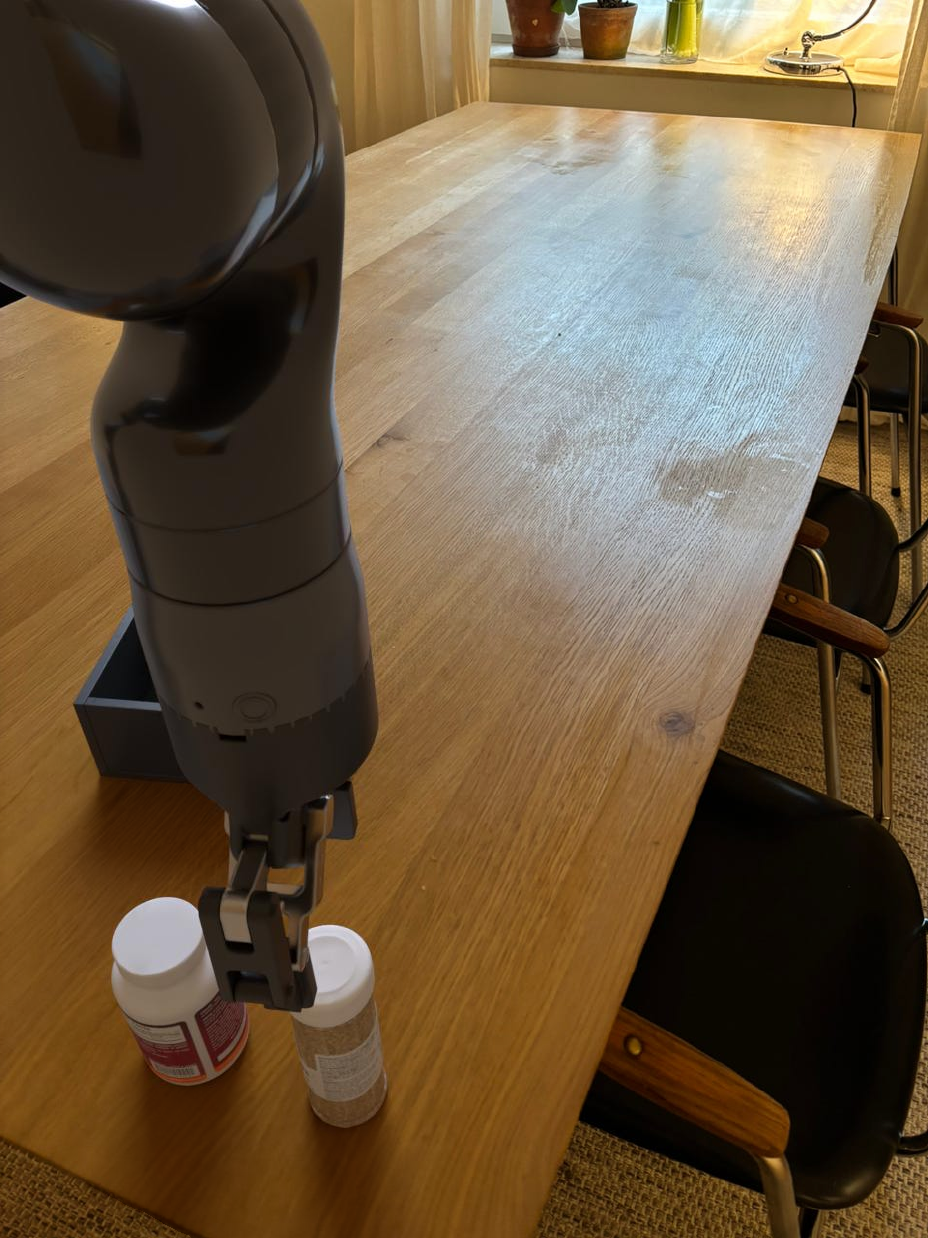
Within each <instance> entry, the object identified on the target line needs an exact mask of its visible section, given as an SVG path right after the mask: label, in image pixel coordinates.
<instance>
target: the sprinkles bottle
mask: <svg viewBox="0 0 928 1238" xmlns="http://www.w3.org/2000/svg"><path fill="white" fill-rule="evenodd" d="M308 947H309V952H310V956H311V961H312V966H313V970H314V975H315V979H316V984H317V993H316V997H315V1001H314V1005H313V1007H311V1008H306V1009H305V1008H302V1010H301V1013H298V1012H289V1014H290V1018H291V1023H292V1028H293V1035H294V1041H295V1045H296V1048H297V1049H296V1050H297V1054H298V1057H299V1062H300V1065H301V1071H302V1074H303V1077H304V1080H305V1082H306V1085H307V1098H308V1102H309V1104H310V1106H311V1108H312V1110H313V1112H314V1114H315V1115H316V1116H317V1117H318V1118H319V1119H320V1120H321V1121H322V1122H324V1123H327V1124H328V1125H330V1126H333V1127H337V1128H343V1129H349V1128H352V1127H356V1126H360V1125H362V1124H364V1123H366V1122H368V1121H369V1120H370V1119H371V1118H373V1117H374V1116H376V1114H377V1113H378V1111H380V1109H381V1106H382V1105H383V1103H384V1101H385V1100H386V1099H385V1098H386V1096H387V1091H388V1079H387V1073H386V1069H385V1067H384V1065H383V1061H384V1060H383V1059H384V1056H383V1046H382V1039H381V1032H380V1031H381V1030H380V1024H379V1017H378V1008H377V1007H378V1006H377V1003H376V1000H375V996H374V988H375V982H376V981H375V980H376V979H375V967H374V961H373V958H372V953H371V950H370V948H369V946H368V945H367V943H366V941H365V940H364V939H363V937H362V936H360V934H358V933H357V932H355V931H354V930H352V929H350V928H347V927H345V926H342V925H338V924H337V925H336V924H323V925H318V926H315V927H312V928H309V931H308Z"/></svg>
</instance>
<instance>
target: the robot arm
mask: <svg viewBox="0 0 928 1238" xmlns="http://www.w3.org/2000/svg"><path fill="white" fill-rule="evenodd" d="M342 120H343V119H342V113H341V107H340V102H339V96H338V92H337V86H336V82H335V77H334V75H333V71H332V67H331V64H330V60H329V57H328V54H327V51H326V49H325V46H324V44H323V41H322V38H321V35H320V34H319V30H318V29H317V27H316V25H315V23H314V20H313V19H312V17H311V15H310V14H309V12H308V10H307V8H306V6H305V5H304V3H302V1H301V0H0V283H2V284H4V285H5V286H7V287H9V288H11V289H13V290H15V291H16V292H19V293H21V294H23V295H25V296H27V297H29V298H31V299H34V300H37V301H40V302H42V303H44V304H47V305H50V306H53V307H55V308H58V309H60V310H64V311H68V312H71V313H75V314H77V315H81V316H85V317H86V316H87V317H90V318H95V319H101V320H106V321H112V322H113V321H114V322H123V324H122V331H121V334H120V338H119V341H118V344H117V346H116V348H115V350H114V353H113V355H112V357H111V359H110V360H109V363H108V365H107V367H106V368H105V370H104V373H103V375H102V377H101V379H100V381H99V383H98V385H97V387H96V390H95V393H94V396H93V399H92V403H91V411H90V419H89V420H90V422H89V426H90V427H89V429H90V439H91V446H92V451H93V455H94V460H95V464H96V468H97V472H98V475H99V479H100V482H101V486H102V489H103V492H104V494H105V495H104V496H105V499H106V502H107V506H108V509H109V512H110V515H111V519H112V522H113V526H114V529H115V532H116V535H117V539H118V542H119V545H120V550H121V553H122V555H123V559H124V562H125V566H126V571H127V576H128V580H129V587H130V596H131V597H130V598H131V604H132V607H133V613H134V619H135V623H136V627H137V631H138V635H139V638H140V641H141V644H142V648H143V651H144V654H145V658H146V661H147V664H148V667H149V671H150V674H151V677H152V681H153V684H154V687H155V690H156V694H157V697H158V700H159V704H160V707H161V709H162V713H163V716H164V719H165V723H166V726H167V729H168V732H169V736H170V739H171V742H172V746H173V749H174V752H175V755H176V759H177V762H178V764H179V766H180V768H181V770H182V772H183V773H184V775H185V776H186V778H187V779H188V780H189V781H190V782H191V783H190V784H192V786H193V787H194V788H196V789H197V790H198V791H199V792H201V793H202V794H203V795H205V796H206V797H207V798H208V799H210V800H211V801H212V802H214V803H215V804H216V805H217V806H218V807H220V809H223V811H224V820H223V821H224V824H223V827H224V831H225V833H226V834H227V836H228V838H229V857H228V877H227V886H217V885H208V884H207V885H205V886H204V888H203V889H202V891H201V894H200V897H199V898H198V902H197V911H198V915H199V920H200V924H201V927H202V931H203V935H204V938H205V942H206V945H207V949H208V953H209V956H210V960H211V964H212V967H213V971H214V974H215V978H216V982H217V985H218V989H219V992H220V996H221V999H222V1001H224V1002H234V1003H236V1002H245V1003H246V1004H256V1005H263V1008H264V1009H266V1010H271V1011H280V1012H288V1013H290V1012H298V1013H301V1010H302V1008H305V1009H306V1008H311V1007H313V1005H314V1001H315V997H316V993H317V984H316V979H315V975H314V970H313V966H312V961H311V956H310V952H309V947H308V931H309V929H310V915H312V914H313V912H314V911H315V910H316V909H317V907H318V905H319V904H320V903H321V901H322V900H323V897H324V886H325V885H324V883H325V881H324V880H325V864H326V863H325V862H326V846H327V845H326V844H327V843H326V842H327V841H326V840H327V839H329V840H341V841H351V840H354V838H355V837H356V833H357V829H358V825H359V822H358V814H357V807H356V799H355V792H354V784H353V781H354V779H355V775H357V772H358V770H359V769H360V768H361V767H362V766H363V764H364V763H365V762H366V760H367V759H368V757H369V755H370V754H371V751H372V750H373V747H374V745H375V743H376V739H377V736H378V731H379V719H380V718H379V708H378V706H379V705H378V699H377V697H378V695H377V689H376V679H375V669H374V658H373V650H372V641H371V640H372V639H371V632H370V624H369V614H368V613H369V611H368V604H367V603H368V602H367V593H366V585H365V584H366V583H365V577H364V573H363V569H362V565H361V562H360V557H359V555H358V551H357V548H356V543H355V540H354V536H353V531H352V524H351V520H350V511H349V500H348V492H347V491H348V490H347V482H346V471H345V465H344V463H345V462H344V453H343V446H342V439H341V433H340V432H341V431H340V426H339V421H338V414H337V410H336V409H337V408H336V401H335V378H336V362H337V352H338V342H339V333H340V323H341V311H342V293H343V291H342V290H343V273H344V254H345V253H344V251H345V233H346V231H345V229H346V202H347V201H346V199H347V197H346V196H347V195H346V194H347V181H346V179H347V177H346V173H347V172H346V153H345V140H344V137H345V136H344V129H343V121H342ZM300 867H303V879H302V881H303V882H302V884H290V883H279V882H270V881H269V882H268V878H269V873H270V869H272V870H282V869H283V870H284V869H288V870H289V869H298V868H300ZM283 915H285V916H286V917H287V918H288V920H289V924H288V925H289V929H288V936H287V932H286V928H285V923H284V918H283Z"/></svg>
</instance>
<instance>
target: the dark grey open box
mask: <svg viewBox="0 0 928 1238" xmlns="http://www.w3.org/2000/svg"><path fill="white" fill-rule="evenodd" d="M72 706H73V708H74V711H75V714H76V716H77V719H78V722H79V724H80V727H81V729H82V732H83V734H84V737H85V740H86V743H87V746H88V748H89V750H90V753H91V755H92V757H93V758H92V759H93V761H94V764H95V766H96V769H97V771H98V774H99V776H105V777H114V778H115V777H116V778H127V779H137V780H147V781H148V780H151V781H162V782H174V783H184V784H192V783H191V782H190V781H189V780H188V779H187V778H186V776H185V775H184V773H183V772H182V770H181V768H180V766H179V764H178V762H177V759H176V755H175V752H174V749H173V746H172V742H171V739H170V736H169V732H168V729H167V726H166V723H165V719H164V716H163V713H162V709H161V707H160V704H159V700H158V697H157V694H156V690H155V687H154V684H153V681H152V677H151V674H150V671H149V667H148V664H147V661H146V658H145V654H144V651H143V648H142V644H141V641H140V638H139V635H138V631H137V627H136V623H135V619H134V613H133V607H132V603H130V605H129V607H128V608H127V610H126V612H125V614H124V615H123V617H122V619H121V620H120V622H119V624H118V626H117V627H116V629H115V632H114V633H113V634H112V636H111V638H110V640H109V641H108V643H107V644H106V647H104V650H103V652H101V654H100V657H99V658H98V660H97V661H96V664H95V665H94V667H93V669H92V670H91V672H90V674H89V675H88V677H87V679H86V680H85V682H84V684H83V685H82V687H81V689H80V691H79V692H78V694H77V696H76V698H75V699H74V701H73V703H72Z"/></svg>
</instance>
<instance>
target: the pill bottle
mask: <svg viewBox="0 0 928 1238" xmlns="http://www.w3.org/2000/svg"><path fill="white" fill-rule="evenodd" d="M111 954H112V958H113V963H112V964H113V965H112V968H111V975H110V977H111V978H110V979H111V980H110V981H111V982H110V983H111V989H112V992H113V996H114V998H115V1000H116V1003H117V1006H118V1007H119V1009H120V1011H121V1012H122V1015H123V1017H124V1019H125V1021H126V1023H127V1024H128V1026H129V1029H130V1031H131V1033H132V1036H133V1038H134V1039H135V1041H136V1043H137V1045H138V1048H139V1049H140V1051H141V1053H142V1055H143V1057H144V1060H145V1062H146V1063H147V1065H148V1066H149V1068H150V1070H152V1072H153V1073H154V1074H155V1075H156V1076H158V1077H159V1078H160V1079H162V1080H163V1081H165V1082H168V1083H170V1084H173V1085H177V1086H197V1085H201V1084H204V1083H207V1082H210V1081H212V1080H214V1079H216V1078H217V1077H219V1076H221V1075H222V1074H223V1073H224V1072H226V1071H227V1070H228V1069H230V1068H231V1066H233V1065H234V1063H235V1062H237V1060H238V1058H239V1057H240V1055H241V1054H242V1052H243V1051H244V1049H245V1046H246V1044H247V1041H248V1038H249V1034H250V1015H249V1010H248V1006H247V1003H246V1002H236V1003H234V1002H224V1001H222V999H221V996H220V992H219V989H218V985H217V982H216V978H215V974H214V971H213V967H212V964H211V960H210V956H209V953H208V949H207V945H206V942H205V938H204V935H203V931H202V927H201V924H200V920H199V915H198V908H196V907H195V906H194V905H193V904H191V903H190V902H189V901H186V900H185V899H182V898H178V897H171V896H168V897H167V896H165V897H164V896H163V897H155V898H153V899H150V900H147V901H145V902H143V903H140V904H139V905H137V906H135V907H134V908H132V910H130V911H129V912H128V913H127V914H126V915H124V917H123V918H122V919H121V920H120V922H119V923H118V925H117V926H116V929H115V930H114V932H113V936H112V940H111Z"/></svg>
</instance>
